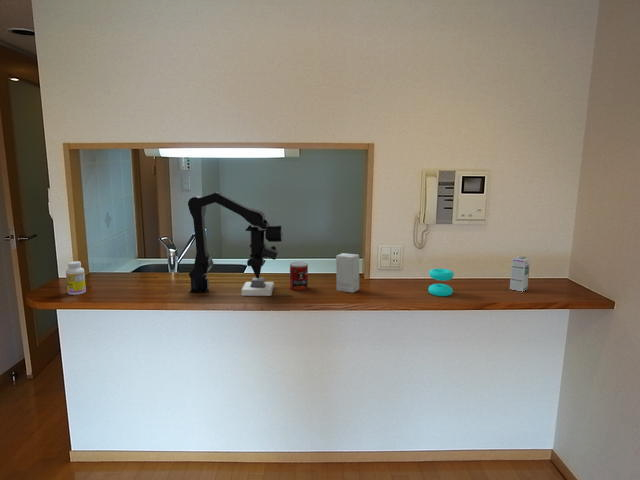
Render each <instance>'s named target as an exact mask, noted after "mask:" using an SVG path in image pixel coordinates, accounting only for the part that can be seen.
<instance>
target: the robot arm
mask: <svg viewBox="0 0 640 480" xmlns="http://www.w3.org/2000/svg"><path fill="white" fill-rule="evenodd" d="M215 203H216V204H218V205H220V206H222V207H223V208H226V209H228V210H229V211H231V212H233V213H235V214H237V215H238V216H240V217H241V218H242V219H244V220H245V221H246V222H247V223H248V224H249V225H248V226H247V228H245V231H246V232H250V233H249V234H250V244H249V248H250V254H249V258H248V259H247V263H246V265H247V267H251V269H252V271H253V273H254V275H255V278H261V273H262V267H263V266H264V264H265V263H266V259H267V258H268V259H271V260H276V259H277V256H278V253H279V251H278V249H277V246H274V245H272V246H271V247H270V246H268V247H267V244H266V242H265V240H266V241H267V242H268V243H282V242H283V236H284V235H283V234H284V233H283V226H282V224H281V225H270V223H269V222H268V221H267V219H266V215H265V213H264V212H263V211H261V210H258V209H255V208H251V207H248V206H246V205H243V204H241V203H240V202H238V201H235V200H233V199H232V198H230V197H228V196H226V195H224V194H222V193H221V192H219V191H216V192H213V193H212V194H208V195H205V196H201V195H197V196H192V197H191V198H189V200H188V201H187V206H188V209H189V213H190V215H191V217H192V219H193V221H192V222H193V231H194V238H195V239H194V241H195V250H196V252H195V253H196V254H195V257H194V263H193V264H194V265H193V267H194V268H193V269H192V270H191V271H190V272H189V273H188V276H189V278H190V289H189V292H190V293H205V292H207V291H208V289H210V286H209V285H210V284H209V283H210V282H209V280H210V279H209V278H208V275H207V274H208V272H209V271H210V270H211V269H212V266H213V264H214V262H213V261H214V260H213V258H214V257H213V254H209V250H208V244H207V235H206V234H207V233H206V223H205V222H206V221H205V216H206V213H207V206H208V205H209V206H210V205H211V204H215ZM265 258H266V259H265Z"/></svg>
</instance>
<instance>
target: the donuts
mask: <svg viewBox="0 0 640 480" xmlns="http://www.w3.org/2000/svg"><path fill="white" fill-rule="evenodd" d="M428 274H429V277H430V278H431V279H433V280H436V281H440V282H441V281H450V280H452V279H453V278H454V276H455V273H454V272H453V271H452V270H451V269H447V268H432V269H431V270H429V272H428ZM427 290H428V292H429V293H430V294H431V295H433V296H438V297H448V296H452V294H453V292H454V290H453V288H452V287H451V286H450V285H449V284H445V283H433V284H431V285H429V287H428V289H427Z"/></svg>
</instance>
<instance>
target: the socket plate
mask: <svg viewBox="0 0 640 480" xmlns="http://www.w3.org/2000/svg"><path fill="white" fill-rule="evenodd" d="M274 285H275V282H274V281H265V288H253V287H252V285H251V281H246V282H245V283H244V284H243V285H242V288H241V296H243V297H244V296H245V297H246V296H249V297H251V296H252V297H253V296H255V297H256V296H258V297H262V296H263V297H267V296H268V297H269V296H272V295H273V294H272V293H273V291H274V287H275V286H274Z"/></svg>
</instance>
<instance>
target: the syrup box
mask: <svg viewBox="0 0 640 480" xmlns="http://www.w3.org/2000/svg"><path fill="white" fill-rule="evenodd" d="M530 262H531V258H530V257H526V256H517V255H516V256H515V257H512V258H511V265H510V266H511V267H510V281H509V282H510V283H509V290H510V289H512V290H517V291H522V292H523V291H524V292H526V291H528V290H529V289H528V288H529V276H530V264H531V263H530ZM527 289H528V290H527ZM512 290H511V291H512ZM525 290H526V291H525ZM517 291H516V292H517ZM522 292H521V293H522ZM524 292H523V293H524Z"/></svg>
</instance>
